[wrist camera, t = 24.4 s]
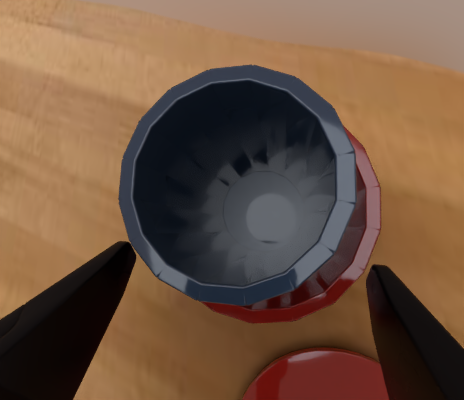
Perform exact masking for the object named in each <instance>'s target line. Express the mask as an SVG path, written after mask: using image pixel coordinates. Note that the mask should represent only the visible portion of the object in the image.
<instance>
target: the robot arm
mask: <svg viewBox="0 0 464 400" xmlns="http://www.w3.org/2000/svg"><path fill="white" fill-rule="evenodd" d="M135 261H136V254H135V252H134V250H133V248H132V246H131V244H130V243H129V242H126V241H119V242H117V243H115V244H114V245H112V246H111V247H109V248H108V249H106V250H105V251H103V252H102V253H100V254H99V255H97V256H96V257H94V258H93V259H91V260H90V261H88V262H87V263H85V264H84V265H82V266H81V267H79V268H78V269H76V270H75V271H73V272H72V273H70V274H69V275H67V276H66V277H64V278H63V279H61V280H60V281H58V282H57V283H55V284H54V285H52V286H51V287H49V288H48V289H46V290H45V291H43V292H42V293H40V294H39V295H37V296H36V297H34V298H33V299H31V300H30V301H28V302H27V303H26V304H25V305H22V306H21V307H19V308H18V309H16V310H15V311H13V312H12V313H10V314H9V315H7V316H5V317H4V318H2V319H1V320H0V400H73V398H74V396H75V394H76V392H77V390H78V388H79V386H80V384H81V382H82V380H83V378H84V376H85V373H86V371H87V369H88V367H89V365H90V363H91V361H92V359H93V357H94V355H95V353H96V351H97V348H98V346H99V344H100V342H101V340H102V338H103V336H104V334H105V332H106V330H107V328H108V326H109V324H110V321H111V319H112V317H113V315H114V313H115V311H116V309H117V307H118V305H119V303H120V301H121V298H122V296H123V294H124V291H125V289H126V286H127V283H128V281H129V278H130V275H131V272H132V270H133V267H134V264H135ZM366 288H367V295H368V303H369V311H370V319H371V326H372V332H373V337H374V341H375V345H376V349H377V353H378V357H379V361H380V365H381V369H382V373H383V377H384V381H385V385H386V390H387V394H388V398H389V400H464V349H463V348H462V346H461V345H460V344H459V343H458V342H457V341H456V340H455V339H454V338H453V337H452V336H451V334H450V333H449V332H448V331H447V330H446V329H445V328H444V327H443V326H442V325H441V324H440V323H439V321H438V320H437V319H436V318H435V317H434V316H433V315H432V314H431V313H430V312H429V311H428V309H427V308H426V307H425V306H424V305H423V304H422V303H421V302H420V301H419V300H418V299H417V298H416V296H415V295H414V294H413V293H412V292H411V291H410V290H409V289H408V288H407V287H406V286H405V284H404V283H403V282H402V281H401V280H400V279H399V278H398V277H397V276H396V275H395V274H394V273H393V271H392V270H391V269H390V268H389V267H387V266H385V265H376V264H374V265H372V267H371V269H370V272H369V274H368V277H367V280H366Z"/></svg>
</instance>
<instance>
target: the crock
mask: <svg viewBox="0 0 464 400" xmlns="http://www.w3.org/2000/svg"><path fill="white" fill-rule="evenodd" d="M118 199H119V205H120V209H121V213H122V216H123V220H124V223H125V227H126V231H127V234H128V238H129V241H130V242H131V245H132V246H133V247H134V249H135V250H136V251H137V253H138V254H139V255H140V257H141V258H142V259H143V261H144V262H145V263H146V265H147V266H148V267H149V268H150V270H151V271H152V272H153V274H154V275H155V276H156V277H158V279H159V280H161V281H163V282H165V283H166V284H168V285H170V286H172V287H173V288H175V289H177V290H179V291H180V292H182V293H184V294H186V295H187V296H189V297H191V298H193V299H194V300H198V301H200V302H209V303H219V304H229V305H239V306H246V305H248V306H249V305H252V304H255V303H258V302H261V301H264V300H267V299H270V298H273V297H276V296H279V295H282V294H285V293H289V292H292V291H294V290H295V289H297V288H299V287H300V286H301V285H302V284H303V283H304V282H305V281H307V280H308V279H309V278H310V277H311V276H312V275H313V274H314V273H315V272H316V271H317V270H319V269H320V268H321V267H322V266H323V265H324V264H325V263H326V262H327V261H328V260H329V259H331V258H332V257H333V256H334V254H335V253H336V252H337V250H338V248H339V245H340V243H341V241H342V238H343V236H344V234H345V231H346V229H347V227H348V224H349V222H350V220H351V217H352V215H353V213H354V210H355V208H356V203H357V177H356V153H355V149H354V147H353V145H352V143H351V141H350V139H349V137H348V135H347V133H346V131H345V129H344V127H343V125H342V123H341V121H340V119H339V117H338V115H337V113H336V111H335V109H334V108H333V107H332V105H331V104H329V103H328V102H327V101H326V100H325V99H323V98H322V97H321V96H320V95H318V94H317V93H316V92H315V91H313V90H312V89H311V88H310V87H309V86H307V85H306V84H305V83H304V82H302V81H301V80H300V79H299V78H296V77H295V76H292V75H288V74H285V73H281V72H278V71H274V70H271V69H267V68H264V67H260V66H257V65H243V66H233V67H224V68H215V69H210V70H206V71H204V72H202V73H200V74H198V75H196V76H194V77H192V78H190V79H188V80H186V81H184V82H182V83H180V84H178V85H176V86H174V87H172V88H171V90H170V89H169V90H168V91H167V92H166V93H165V94H164V95H163V96H162V97H161V98H160V99H159V100H158V101H157V102H156V103H155V104H154V105H153V106H152V108H151V109H150V110H149V111H148V112H147V113H146V114H145V115H144V116H143V117H142V118H141V120H140V121H139V123H138V125H137V127H136V129H135V131H134V133H133V136H132V138H131V140H130V142H129V144H128V146H127V149H126V151H125V153H124V155H123V159H122V165H121V176H120V187H119V198H118Z"/></svg>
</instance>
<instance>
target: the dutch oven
mask: <svg viewBox="0 0 464 400" xmlns="http://www.w3.org/2000/svg"><path fill="white" fill-rule="evenodd" d="M343 127H344V126H343ZM344 129H345V131H346V133H347V135H348V137H349V139H350V141H351V143H352V145H353V147H354V149H355V153H356V177H357V203H356V208H355V210H354V213H353V215H352V217H351V220H350V222H349V224H348V227H347V229H346V231H345V234H344V236H343V238H342V241H341V243H340V245H339V248H338V250H337V252H336V253H335V254H334V256H333V257H332V258H331V259H329V260H328V261H327V262H326V263H325V264H324V265H323V266H322V267H321V268H320V269H319V270H317V271H316V272H315V273H314V274H313V275H312V276H311V277H310V278H309V279H308V280H307V281H305V282H304V283H303V284H302V285H301V286H300V287H299V288H297V289H295V290H294V291H292V292H289V293H285V294H282V295H279V296H276V297H273V298H270V299H267V300H264V301H261V302H258V303H255V304H252V305H249V306H248V305H246V306H239V305H229V304H219V303H209V302H202V303H203V304H204V305H206V306H207V307H208V308H209V309H211V310H213V311H214V312H217V313H220V314H223V315H226V316H229V317H233V318H236V319H239V320H242V321H245V322H248V323H273V322H293V321H296V320H298V319H301V318H303V317H305V316H307V315H310V314H312V313H314V312H316V311H318V310H321V309H323V308H325V307H327V306H330V305H332V304H333V303H335V302H336V301H337V300H338V299H339V298H340V297H341V296H342V295H343V294H344V293H345V292H346V291H347V289H348V288H349V287H350V286H351V285H352V284H353V283H354V282H355V281H356V280H357V279H358V278H359V277H360V276H361V275H362V274H363V273H364V271H365V269H366V267H367V264H368V262H369V259H370V257H371V254H372V252H373V249H374V246H375V244H376V241H377V239H378V236H379V234H380V230H381V187H380V184H379V182H378V179H377V177H376V175H375V172H374V170H373V167H372V165H371V163H370V160H369V158H368V155H367V153H366V151H365V148H364V147H363V145H362V144H361V143H360V142H359V141H358V140H357V139H356V138H355V137H354V136H353V135H352V134H351V133H350V132H349V131H348V130H347V129H346V128H345V127H344Z"/></svg>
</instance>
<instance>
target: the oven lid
mask: <svg viewBox="0 0 464 400" xmlns="http://www.w3.org/2000/svg"><path fill="white" fill-rule="evenodd" d="M242 400H389V398H388V394H387V390H386V385H385V381H384V377H383V373H382V369H381V365H380V362H378V361H376V360H374V359H372V358H370V357H367V356H364V355H362V354H359V353H356V352H352V351H348V350H344V349H337V348H329V347H318V348H308V349H302V350H298V351H295V352H292V353H289V354H286V355H284V356H282V357H280V358H278V359H276V360H275V361H273V362H272V363H270V364H269V365H267V366H266V367H265V368H264V369H263V370H262V371H261V372H260V373H259V374H258V375H257V376H256V377H255V378H254V380H253V381H252V382H251V383H250V385H249V387H248V388H247V390H246V391H245V393H244V395H243V397H242Z"/></svg>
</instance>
